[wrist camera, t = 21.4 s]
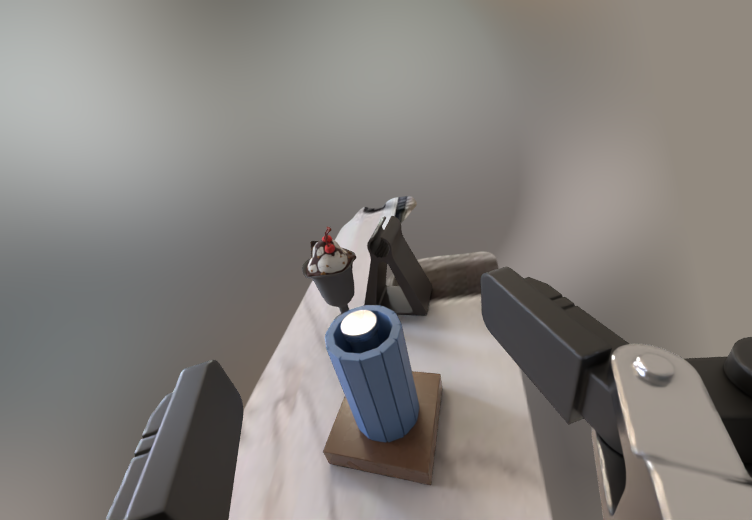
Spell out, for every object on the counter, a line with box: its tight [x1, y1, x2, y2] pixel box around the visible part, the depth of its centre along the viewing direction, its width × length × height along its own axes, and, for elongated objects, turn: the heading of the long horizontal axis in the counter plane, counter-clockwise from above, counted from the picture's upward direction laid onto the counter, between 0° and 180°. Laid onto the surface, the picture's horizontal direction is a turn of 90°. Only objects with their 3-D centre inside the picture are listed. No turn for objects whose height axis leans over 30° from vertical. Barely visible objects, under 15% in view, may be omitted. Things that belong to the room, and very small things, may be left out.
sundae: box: [302, 227, 356, 320], centre depth 39 cm, size 7×7×15 cm
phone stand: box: [364, 216, 432, 315], centre depth 42 cm, size 9×6×12 cm, turn 74°
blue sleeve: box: [325, 305, 419, 443], centre depth 26 cm, size 6×6×10 cm
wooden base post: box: [323, 310, 442, 485], centre depth 26 cm, size 9×9×13 cm
